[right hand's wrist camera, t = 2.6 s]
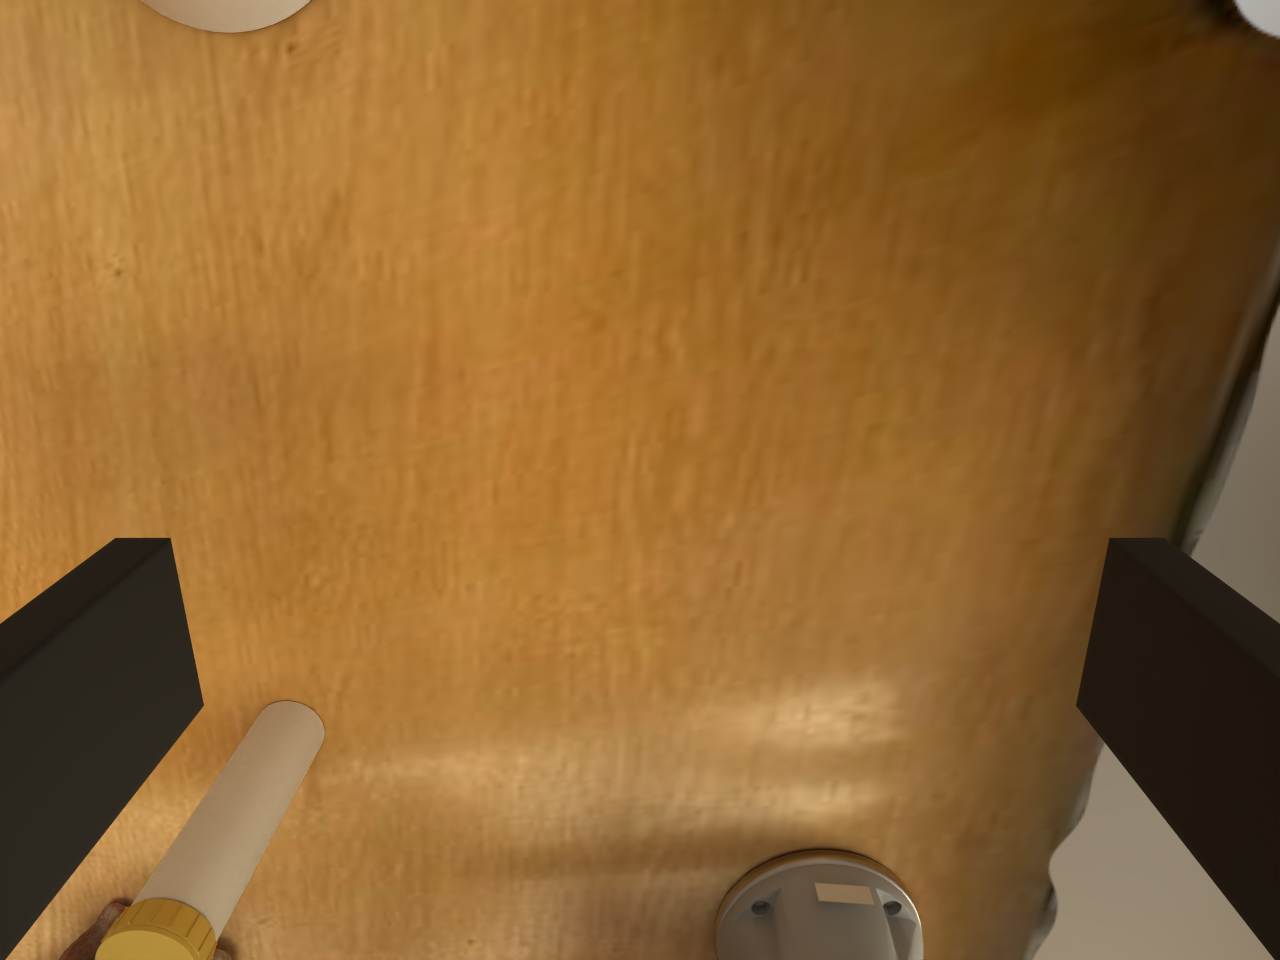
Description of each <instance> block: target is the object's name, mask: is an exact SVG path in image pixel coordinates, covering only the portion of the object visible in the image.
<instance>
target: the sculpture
mask: <svg viewBox="0 0 1280 960" xmlns="http://www.w3.org/2000/svg"><path fill="white" fill-rule="evenodd" d="M126 907H127V906H125V905H122V904H119V903H110V904H109V905H108V906H106V907H105V908H104V909H103V910H102V912H101V914H100V916H99V918H98V920H97V922H96V924H95V925H94V926H92V927H91V928H90V929H89V930H87V931H86V932H85V933H83V934H82V935H81V936H80V937H79V938H78V939H77V940H76V941H75V942H73V943H72V944H71V945H70V947H69V948H68V949H67V950H66V951H65V952H64V953H63V954H62V956H61V957H60V958H59V960H95V956H96V952H97V950H98V948H99V946H100V945H101V943H102V942H101V941H102V939H103V938H104V936H105V935H106V933H107V932H108V930H109V929H110V927H111V926H112V924H113V923H114V921H115V920H116V918H119V917H120V915H121V914H122V913H123V912H124V910H125V909H126ZM213 956H214V958H213V960H232V958H231V956H230V955H229V954H227V953H226V952H225V951H224V950H221V949H216V948H215V952H214V954H213Z"/></svg>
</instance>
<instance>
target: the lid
mask: <svg viewBox="0 0 1280 960" xmlns="http://www.w3.org/2000/svg"><path fill="white" fill-rule="evenodd" d="M101 942H102V943H101V945H100V946H99V948H98V950H97V952H96V956H95V960H213V958H214V956H213V954H214V952H215V948H216V945H217V943H216V938H215V933H214V931H213V928H212V927H211V925H210V924H209V922H208V921H207V920H206V919H205V918H204V917H203V916H202V915H201V914H200V913H199V912H197V911H196V910H194V909H193V908H191V907H189V906H188V905H185V904H183V903H180V902H177V901H173V900H168V899H148V900H142V901H140V902H137V903H135V904H133V905H131V906H130V907H128V906H127V907H126V909H125V910H124V912H123V913H122V914H121V915H120V917H119V918H116V920H115V921H114V923H113V924H112V926H111V927H110V929H109V930H108V932H107V933H106V935H105V936H104V938H103V939H102V941H101Z"/></svg>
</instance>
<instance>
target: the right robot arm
mask: <svg viewBox="0 0 1280 960" xmlns="http://www.w3.org/2000/svg"><path fill="white" fill-rule="evenodd" d="M203 706H204V704H203V699H202V694H201V689H200V684H199V679H198V674H197V669H196V664H195V659H194V654H193V649H192V644H191V639H190V634H189V629H188V624H187V619H186V614H185V609H184V604H183V599H182V594H181V589H180V584H179V579H178V574H177V569H176V564H175V559H174V554H173V549H172V544H171V539H170V538H115V539H114V540H112V541H111V542H110V543H108V544H107V545H106V546H104V547H103V548H101V549H100V550H99V551H97V552H96V553H95V554H93V555H92V556H91V557H89V558H88V559H87V560H85V561H84V562H83V563H81V564H80V565H79V566H77V567H76V568H75V569H73V570H72V571H71V572H69V573H68V574H67V575H65V576H64V577H63V578H61V579H60V580H59V581H57V582H56V583H55V584H53V585H52V586H50V587H49V588H48V589H46V590H45V591H44V592H42V593H41V594H40V595H38V596H37V597H36V598H34V599H33V600H32V601H30V602H29V603H28V604H26V605H25V606H24V607H22V608H21V609H20V610H18V611H17V612H16V613H14V614H13V615H12V616H10V617H9V618H8V619H6V620H5V621H3V622H2V623H1V624H0V960H5V959H6V958H7V957H8V956H9V954H10V953H11V952H12V951H13V949H14V948H15V947H16V945H17V944H18V943H19V942H20V940H21V939H22V938H23V936H24V935H25V934H26V933H27V931H28V930H29V929H30V928H31V926H32V925H33V924H34V922H35V921H36V920H37V919H38V917H39V916H40V915H41V913H42V912H43V911H44V910H45V908H46V907H47V906H48V904H49V903H50V902H51V901H52V899H53V898H54V897H55V896H56V894H57V893H58V892H59V890H60V889H61V888H62V887H63V885H64V884H65V883H66V881H67V880H68V879H69V878H70V876H71V875H72V874H73V872H74V871H75V870H76V869H77V867H78V866H79V865H80V864H81V862H82V861H83V860H84V858H85V857H86V856H87V855H88V853H89V852H90V851H91V849H92V848H93V847H94V846H95V844H96V843H97V842H98V840H99V839H100V838H101V837H102V835H103V834H104V833H105V832H106V830H107V829H108V828H109V826H110V825H111V824H112V823H113V821H114V820H115V819H116V817H117V816H118V815H119V814H120V812H121V811H122V810H123V808H124V807H125V806H126V805H127V803H128V802H129V801H130V800H131V798H132V797H133V796H134V794H135V793H136V792H137V791H138V789H139V788H140V787H141V785H142V784H143V783H144V782H145V780H146V779H147V778H148V776H149V775H150V774H151V773H152V771H153V770H154V769H155V768H156V766H157V765H158V764H159V762H160V761H161V760H162V759H163V757H164V756H165V755H166V753H167V752H168V751H169V750H170V748H171V747H172V746H173V744H174V743H175V742H176V741H177V739H178V738H179V737H180V736H181V734H182V733H183V732H184V730H185V729H186V728H187V727H188V725H189V724H190V723H191V721H192V720H193V719H194V718H195V716H196V715H197V714H198V713H199V711H200V710H201V709H202V707H203ZM1076 706H1077V707H1078V709H1079V710H1080V711H1081V713H1082V714H1083V715H1084V716H1085V718H1086V719H1087V720H1088V721H1089V723H1090V724H1091V725H1092V727H1093V728H1094V729H1095V730H1096V732H1097V733H1098V734H1099V736H1100V737H1101V738H1102V739H1103V741H1104V742H1105V743H1106V744H1107V746H1108V747H1109V748H1110V750H1111V751H1112V752H1113V753H1114V755H1115V756H1116V757H1117V759H1118V760H1119V761H1120V762H1121V764H1122V765H1123V766H1124V767H1125V769H1126V770H1127V771H1128V773H1129V774H1130V775H1131V776H1132V778H1133V779H1134V780H1135V782H1136V783H1137V784H1138V785H1139V787H1140V788H1141V789H1142V791H1143V792H1144V793H1145V794H1146V796H1147V797H1148V798H1149V799H1150V801H1151V802H1152V803H1153V805H1154V806H1155V807H1156V808H1157V810H1158V811H1159V812H1160V814H1161V815H1162V816H1163V817H1164V819H1165V820H1166V821H1167V823H1168V824H1169V825H1170V826H1171V828H1172V829H1173V830H1174V832H1175V833H1176V834H1177V835H1178V837H1179V838H1180V839H1181V840H1182V842H1183V843H1184V844H1185V846H1186V847H1187V848H1188V849H1189V851H1190V852H1191V853H1192V855H1193V856H1194V857H1195V858H1196V860H1197V861H1198V862H1199V863H1200V865H1201V866H1202V867H1203V869H1204V870H1205V871H1206V872H1207V874H1208V875H1209V876H1210V878H1211V879H1212V880H1213V881H1214V883H1215V884H1216V885H1217V887H1218V888H1219V889H1220V890H1221V892H1222V893H1223V894H1224V895H1225V897H1226V898H1227V899H1228V901H1229V902H1230V903H1231V904H1232V906H1233V907H1234V908H1235V910H1236V911H1237V912H1238V913H1239V915H1240V916H1241V917H1242V919H1243V920H1244V921H1245V922H1246V924H1247V925H1248V926H1249V928H1250V929H1251V930H1252V931H1253V933H1254V934H1255V935H1256V936H1257V938H1258V939H1259V940H1260V942H1261V943H1262V944H1263V945H1264V947H1265V948H1266V949H1267V951H1268V952H1269V953H1270V954H1271V956H1272V957H1273V958H1274V960H1280V624H1279V623H1278V622H1277V621H1275V620H1274V619H1272V618H1271V617H1270V616H1268V615H1267V614H1266V613H1264V612H1263V611H1262V610H1260V609H1259V608H1258V607H1256V606H1255V605H1254V604H1252V603H1251V602H1250V601H1248V600H1247V599H1246V598H1244V597H1243V596H1242V595H1240V594H1239V593H1238V592H1236V591H1235V590H1234V589H1232V588H1231V587H1230V586H1228V585H1227V584H1225V583H1224V582H1223V581H1221V580H1220V579H1219V578H1217V577H1216V576H1215V575H1213V574H1212V573H1211V572H1209V571H1208V570H1207V569H1205V568H1204V567H1203V566H1201V565H1200V564H1199V563H1197V562H1196V561H1195V560H1193V559H1192V558H1191V557H1189V556H1188V555H1187V554H1185V553H1184V552H1183V551H1181V550H1180V549H1178V548H1177V547H1176V546H1174V545H1173V544H1172V543H1170V542H1169V541H1168V540H1166V539H1165V538H1110V539H1109V544H1108V549H1107V554H1106V559H1105V564H1104V569H1103V574H1102V579H1101V584H1100V589H1099V594H1098V599H1097V604H1096V609H1095V614H1094V619H1093V624H1092V629H1091V634H1090V639H1089V644H1088V649H1087V654H1086V659H1085V664H1084V669H1083V674H1082V679H1081V684H1080V689H1079V694H1078V699H1077V704H1076ZM715 941H716V951H717V958H718V960H923V936H922V930H921V924H920V920H919V917H918V914H917V911H916V908H915V905H914V903H913V900H912V898H911V896H910V894H909V892H908V890H907V889H906V887H905V886H904V884H903V883H902V882H901V881H900V880H899V879H898V878H897V877H896V876H895V875H894V874H893V873H892V872H891V871H889V870H888V869H887V868H885V867H883V866H882V865H880V864H879V863H877V862H875V861H873V860H870V859H868V858H865V857H863V856H860V855H856V854H853V853H848V852H843V851H834V850H811V851H802V852H797V853H792V854H788V855H785V856H781V857H779V858H776V859H773V860H771V861H769V862H767V863H764V864H762V865H761V866H759V867H757V868H755V869H754V870H752V871H751V872H750V873H748V874H747V875H746V876H744V877H743V878H742V879H741V880H740V881H739V882H738V883H737V884H736V885H735V886H734V887H733V888H732V889H731V890H730V892H729V893H728V894H727V896H726V897H725V899H724V901H723V903H722V905H721V907H720V909H719V912H718V915H717V919H716V924H715Z"/></svg>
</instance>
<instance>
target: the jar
mask: <svg viewBox="0 0 1280 960" xmlns="http://www.w3.org/2000/svg"><path fill="white" fill-rule="evenodd" d="M324 736H325V731H324V726H323V723H322V721H321V719H320V717H319V716H318V715H317V714H316V713H315V712H314V711H313V710H312V709H310V708H309V707H307V706H305V705H303V704H301V703H298V702H293V701H280V702H275V703H273V704H271V705H269V706H267V707H266V708H264V709H263V710H262V711H261V713H260V714H259V716H258V717H257V719H256V720H255V722H254V723H253V725H252V726H251V728H250V729H249V730H248V732H247V733H246V735H245V736H244V738H243V739H242V741H241V742H240V744H239V745H238V747H237V748H236V750H235V751H234V753H233V754H232V756H231V757H230V759H229V760H228V762H227V763H226V765H225V766H224V768H223V769H222V771H221V772H220V774H219V775H218V777H217V778H216V780H215V781H214V783H213V784H212V786H211V787H210V789H209V790H208V792H207V793H206V795H205V796H204V797H203V799H202V800H201V802H200V803H199V805H198V806H197V808H196V809H195V811H194V812H193V814H192V815H191V817H190V818H189V820H188V821H187V823H186V824H185V826H184V827H183V829H182V830H181V832H180V833H179V835H178V836H177V838H176V839H175V841H174V842H173V844H172V845H171V847H170V848H169V850H168V851H167V853H166V854H165V856H164V857H163V859H162V860H161V862H160V863H159V864H158V866H157V867H156V869H155V870H154V872H153V873H152V875H151V876H150V878H149V879H148V881H147V882H146V884H145V885H144V887H143V888H142V890H141V891H140V893H139V894H138V896H137V897H136V899H135V900H134V902H133V903H132V905H133V904H135V903H137V902H140V901H142V900H148V899H168V900H173V901H177V902H180V903H183V904H185V905H188V906H189V907H191V908H193V909H194V910H196V911H197V912H199V913H200V914H201V915H202V916H203V917H204V918H205V919H206V920H207V921H208V922H209V924H210V925H211V927H212V928H213V931H214V933H215V938H216V942H217V940H218V938H219V936H220V935H221V933H222V931H223V929H224V927H225V925H226V923H227V921H228V920H229V918H230V916H231V914H232V912H233V910H234V908H235V906H236V905H237V903H238V901H239V899H240V897H241V895H242V893H243V891H244V890H245V888H246V886H247V884H248V882H249V880H250V878H251V876H252V875H253V873H254V871H255V869H256V867H257V865H258V863H259V861H260V860H261V858H262V856H263V854H264V852H265V850H266V848H267V846H268V845H269V843H270V841H271V839H272V837H273V835H274V833H275V831H276V830H277V828H278V826H279V824H280V822H281V820H282V818H283V816H284V814H285V813H286V811H287V809H288V807H289V805H290V803H291V801H292V799H293V798H294V796H295V794H296V792H297V790H298V788H299V786H300V784H301V783H302V781H303V779H304V777H305V775H306V773H307V771H308V769H309V768H310V766H311V764H312V762H313V760H314V758H315V756H316V754H317V753H318V751H319V749H320V747H321V745H322V743H323V741H324Z"/></svg>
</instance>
